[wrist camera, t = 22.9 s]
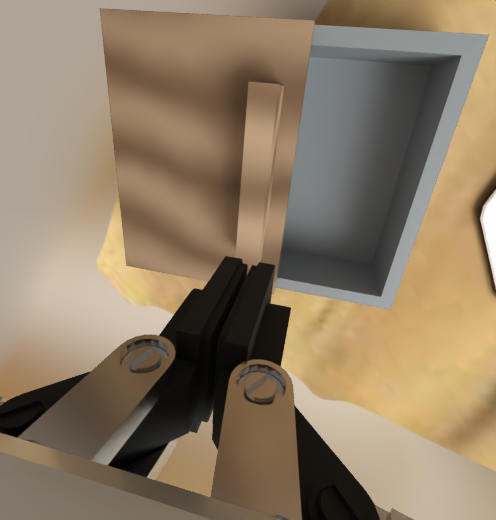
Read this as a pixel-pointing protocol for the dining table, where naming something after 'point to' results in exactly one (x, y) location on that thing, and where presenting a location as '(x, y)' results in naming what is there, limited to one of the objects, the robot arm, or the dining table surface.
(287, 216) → the toolbox
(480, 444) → the dining table surface
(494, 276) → the plate
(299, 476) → the robot arm
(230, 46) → the lid
